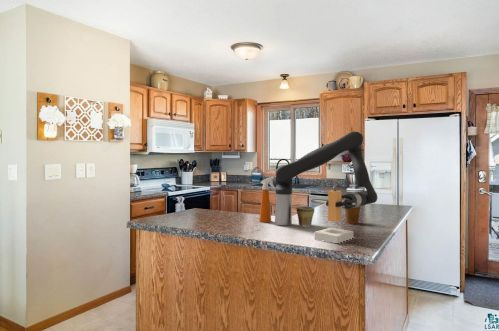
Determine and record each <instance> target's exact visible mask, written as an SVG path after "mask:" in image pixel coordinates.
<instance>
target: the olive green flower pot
mask: <svg viewBox="0 0 499 331" xmlns="http://www.w3.org/2000/svg"><path fill="white" fill-rule="evenodd" d="M295 208H296V214H297V220H298V224H299V225H300V226H299V227H302V226H306V227H305V228H309V227H308V226H310V227H311V226H312V222H313V218H314V213H315V208H316V207H313V206H307V205H306V206H304V205H303V206H302V205H301V206H297V207H295Z"/></svg>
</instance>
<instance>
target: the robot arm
mask: <svg viewBox="0 0 499 331" xmlns="http://www.w3.org/2000/svg"><path fill="white" fill-rule="evenodd" d="M363 142H364V136H363V134H362V133H361V132H359V131H351V132H349V133H347V134H345V135H344V136H341V137H340V138H338V139H336V140H334V141H332V142H329V143H327V144H325V145H323V146H321V147H317V148H316V149H314V150H312V151H309V152H308V153H306V154H305V155H303V156H302V157H300V158H299V159H297V160H295V161H292V162H290V163H287V164H283V165H279V166H278V167H277V168H276V170H275V188H276V190H275V207H274V216H275V217H274V225H276V226H291V225H292V224H293V223H292V222H293V216H292V214H293V213H292V212H293V178H295V177H298V176H299V175H300V174H302V173H305V172H308V171H311V170H314V169H316V168H319V167H321V166H323V165H325V164H327V163H328V162H330V161H332V160H333V159H335V158H336V157H337V156H339V155H341V154H342V153H344V152H346V151H348V154H349V157H350V160H351V165H352V169H353V174H354V178H355V183H356V186H357V187H358V188H364V189H365V190H363V191H358V192H349V193H348V192H347V193H344V194H341V202H336V203H335V207H341V209H344V210H345V209H351V208H355V207H357V206H365V205H370V204H375V203H376V202H377V201H378V193H377V191H376V190H375V188H374V187H373V185H372V181H370V180H371V179H370V176H369V170H368V168H367V166H366V165H367V164H366V163H365V161H364V157H363V151H362V145H363ZM325 205H326V207H328V200H326V202H325Z"/></svg>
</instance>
